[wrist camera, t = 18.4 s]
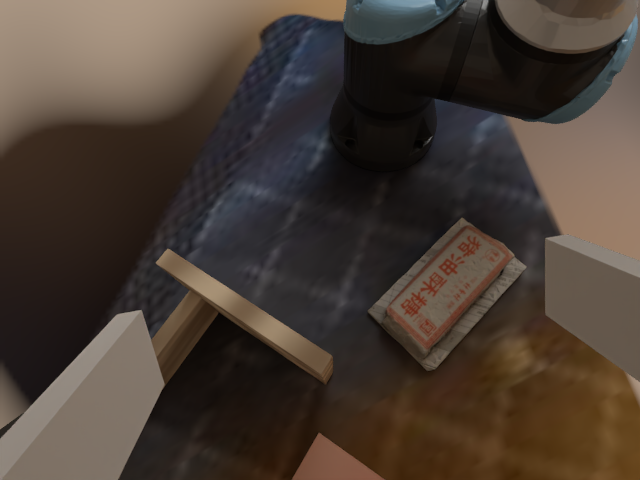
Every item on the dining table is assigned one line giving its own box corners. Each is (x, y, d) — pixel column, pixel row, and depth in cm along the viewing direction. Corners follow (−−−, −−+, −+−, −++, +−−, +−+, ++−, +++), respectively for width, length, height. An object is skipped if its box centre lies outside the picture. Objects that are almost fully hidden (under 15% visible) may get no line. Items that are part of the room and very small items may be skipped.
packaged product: (439, 371, 41) (369, 303, 44) (428, 375, 45) (366, 313, 48) (541, 257, 45) (471, 202, 48) (522, 270, 50) (459, 220, 53)
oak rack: (333, 372, 45) (332, 356, 31) (176, 634, 37) (72, 786, 22) (216, 294, 49) (166, 247, 35) (51, 515, 41) (-108, 577, 26)
